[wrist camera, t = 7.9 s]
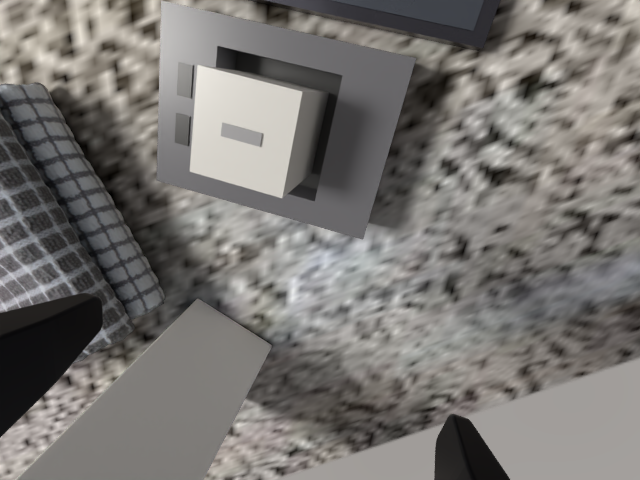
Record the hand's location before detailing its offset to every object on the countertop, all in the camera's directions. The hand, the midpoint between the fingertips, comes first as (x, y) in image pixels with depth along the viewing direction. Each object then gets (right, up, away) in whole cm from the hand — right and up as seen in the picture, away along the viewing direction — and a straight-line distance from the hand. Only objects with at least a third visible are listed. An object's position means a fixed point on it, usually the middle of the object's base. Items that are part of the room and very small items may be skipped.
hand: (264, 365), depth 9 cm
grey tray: (-1, +9, +10) cm, 13 cm away
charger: (-1, +9, +9) cm, 13 cm away
